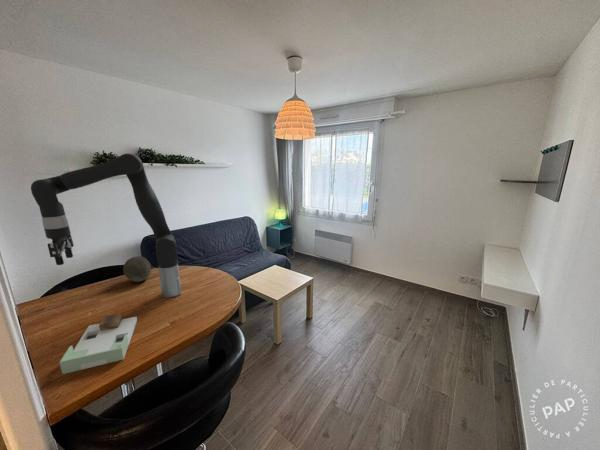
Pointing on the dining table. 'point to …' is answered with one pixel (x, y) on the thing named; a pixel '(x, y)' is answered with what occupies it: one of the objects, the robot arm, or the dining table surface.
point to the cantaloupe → (137, 269)
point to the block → (110, 322)
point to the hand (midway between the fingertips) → (65, 260)
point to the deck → (99, 347)
